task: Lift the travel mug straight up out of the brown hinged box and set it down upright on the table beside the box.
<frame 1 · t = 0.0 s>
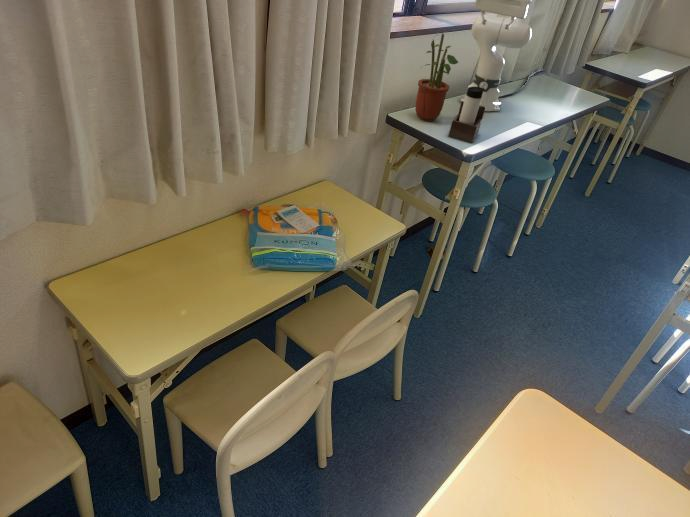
hand: (495, 27, 193), 39 cm above the table, tool pointing down, fingers open, 8 cm apart
travel mug: (463, 136, 202), resting in brown hinged box
potted plant: (425, 116, 215), on the table
brown hinged box: (463, 135, 202), on the table
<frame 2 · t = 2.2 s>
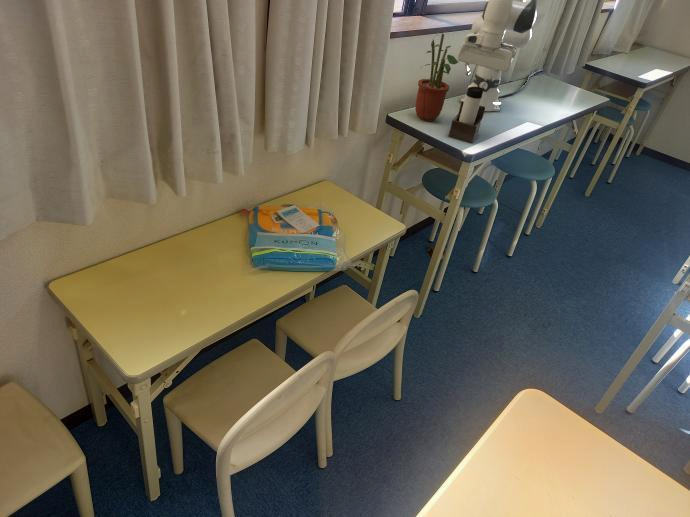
hand: (479, 78, 188), 24 cm above the table, tool pointing down, fingers open, 8 cm apart
nothing on the table moved.
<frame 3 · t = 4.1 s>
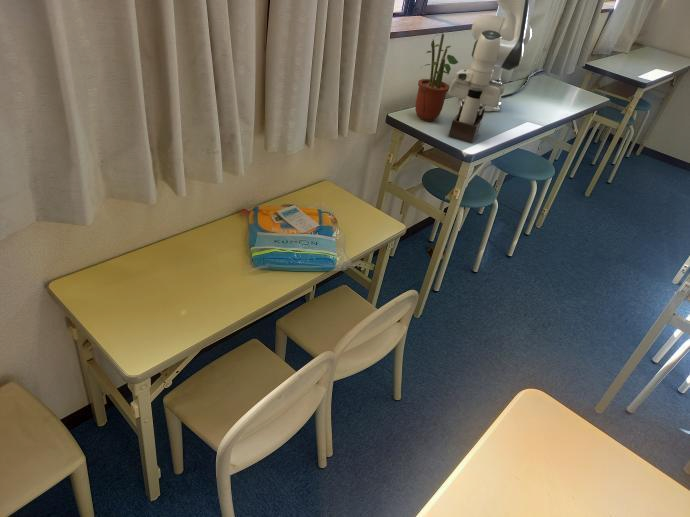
hand: (469, 111, 196), 10 cm above the table, tool pointing down, fingers closed on travel mug, 6 cm apart
travel mug: (462, 136, 202), resting in brown hinged box, touching gripper
everything else where it was.
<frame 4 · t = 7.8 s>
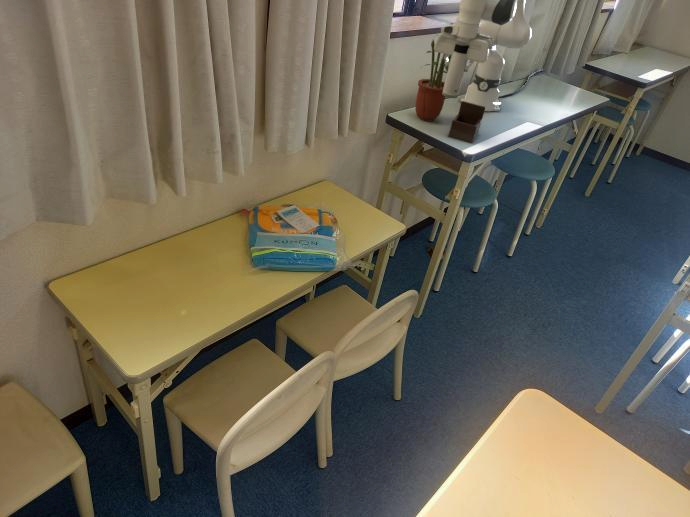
hand: (456, 69, 186), 26 cm above the table, tool pointing down, fingers closed on travel mug, 6 cm apart
travel mug: (450, 96, 192), point 15 cm above the table, touching gripper
everything else where it was.
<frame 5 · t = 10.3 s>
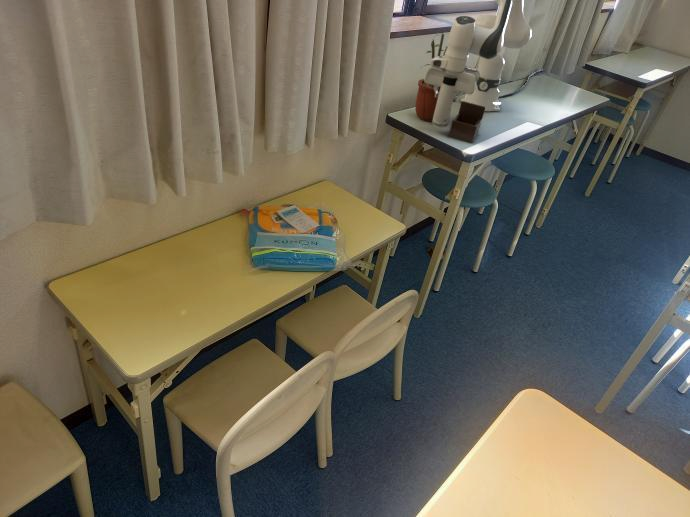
hand: (445, 99, 193), 14 cm above the table, tool pointing down, fingers closed on travel mug, 6 cm apart
travel mug: (439, 124, 200), point 3 cm above the table, touching gripper
everything else where it was.
when the fingers open (10 cm above the table, at t = 11.8 s): travel mug stays where it is, on the table.
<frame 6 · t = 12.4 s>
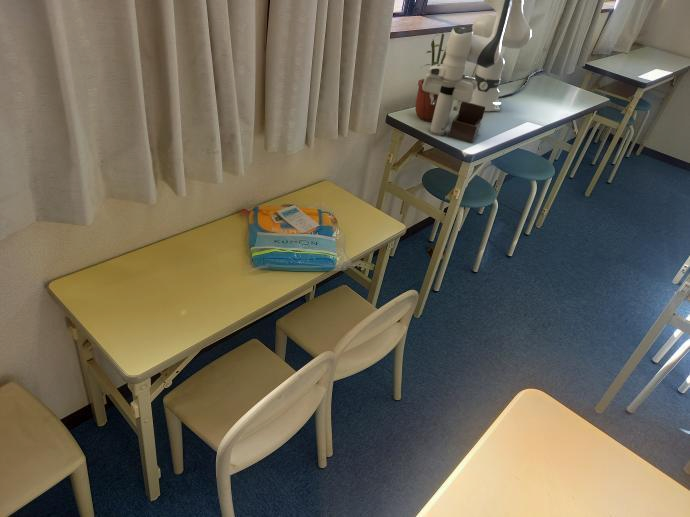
hand: (443, 107, 195), 11 cm above the table, tool pointing down, fingers open, 8 cm apart
travel mug: (437, 132, 202), on the table
everything else where it was.
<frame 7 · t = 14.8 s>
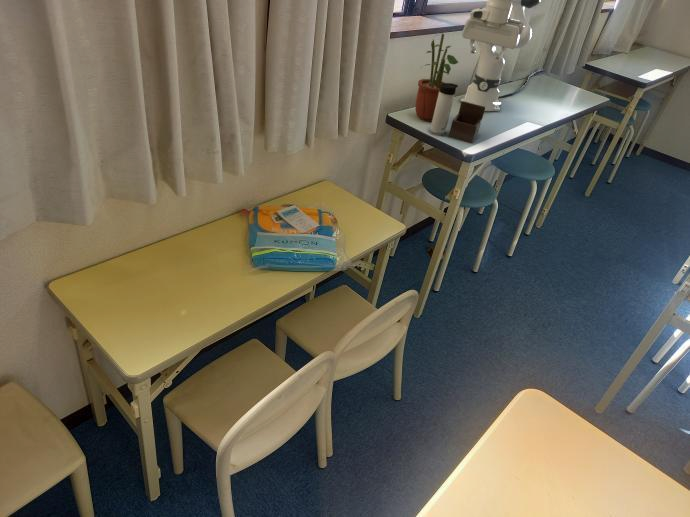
hand: (484, 55, 181), 32 cm above the table, tool pointing down, fingers open, 8 cm apart
nothing on the table moved.
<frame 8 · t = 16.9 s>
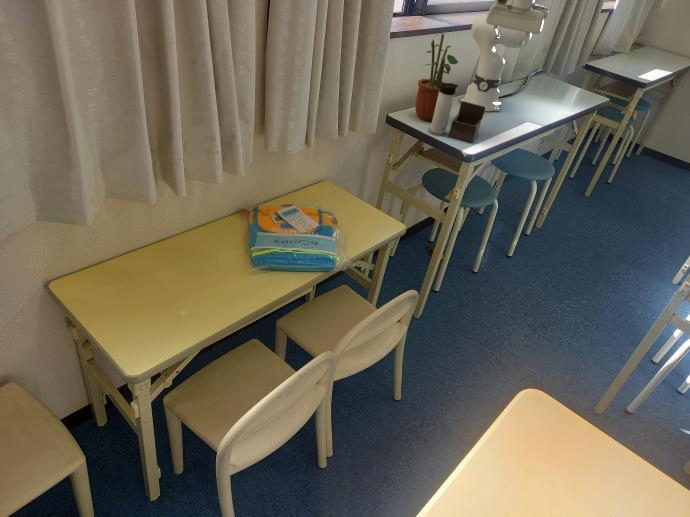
hand: (508, 41, 182), 37 cm above the table, tool pointing down, fingers open, 8 cm apart
nothing on the table moved.
at the end: travel mug inside the target area (0.1 cm from its centre), on the table; travel mug tilted 0°; the gripper is holding nothing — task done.
